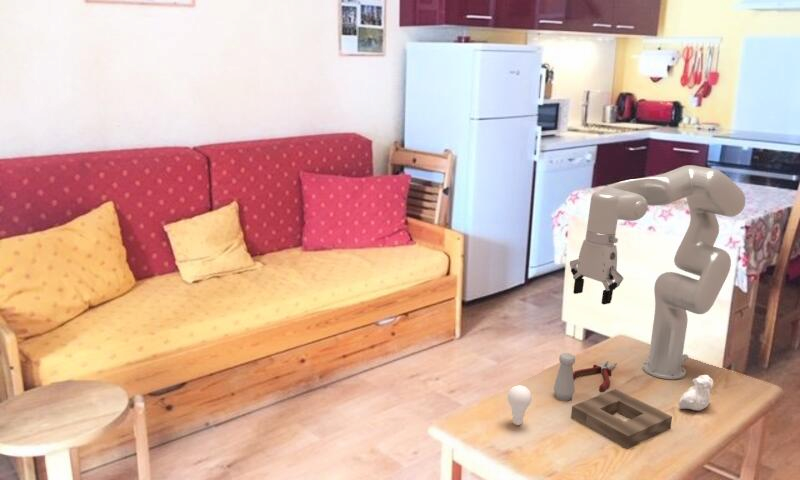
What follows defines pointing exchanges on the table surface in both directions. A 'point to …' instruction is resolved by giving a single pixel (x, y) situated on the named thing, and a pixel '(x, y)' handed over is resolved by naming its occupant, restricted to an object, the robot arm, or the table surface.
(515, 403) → the lightbulb
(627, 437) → the walnut stand
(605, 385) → the pliers
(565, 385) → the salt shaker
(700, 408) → the bust
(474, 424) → the table surface
